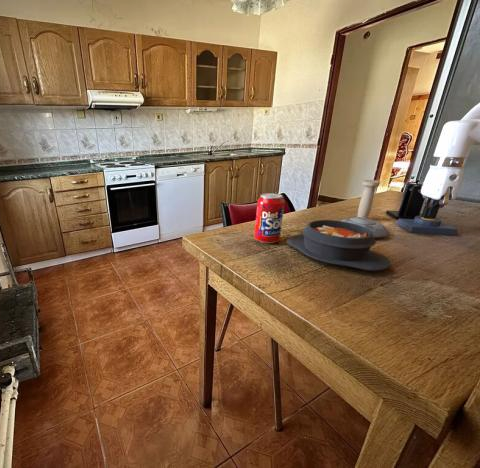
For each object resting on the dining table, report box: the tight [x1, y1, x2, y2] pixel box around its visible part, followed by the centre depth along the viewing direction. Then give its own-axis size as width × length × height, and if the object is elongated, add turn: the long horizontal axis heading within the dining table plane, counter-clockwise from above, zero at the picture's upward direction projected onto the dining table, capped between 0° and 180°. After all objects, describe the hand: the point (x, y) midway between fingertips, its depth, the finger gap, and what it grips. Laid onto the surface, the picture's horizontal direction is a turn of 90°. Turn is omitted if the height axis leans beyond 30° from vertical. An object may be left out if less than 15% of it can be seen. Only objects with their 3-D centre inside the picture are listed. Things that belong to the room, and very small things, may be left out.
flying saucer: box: [340, 216, 390, 239], centre depth 87 cm, size 15×15×6 cm
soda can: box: [253, 192, 286, 245], centre depth 81 cm, size 8×8×15 cm
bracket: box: [385, 183, 425, 221], centre depth 100 cm, size 11×9×13 cm
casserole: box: [286, 219, 392, 272], centre depth 71 cm, size 25×19×8 cm
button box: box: [396, 216, 459, 236], centre depth 88 cm, size 12×9×4 cm
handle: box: [356, 179, 381, 218], centre depth 98 cm, size 5×6×15 cm
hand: (427, 217), depth 88 cm, fingers closed
